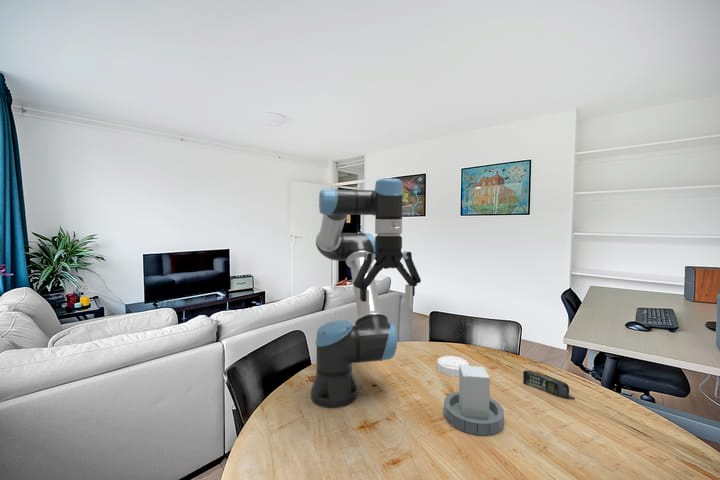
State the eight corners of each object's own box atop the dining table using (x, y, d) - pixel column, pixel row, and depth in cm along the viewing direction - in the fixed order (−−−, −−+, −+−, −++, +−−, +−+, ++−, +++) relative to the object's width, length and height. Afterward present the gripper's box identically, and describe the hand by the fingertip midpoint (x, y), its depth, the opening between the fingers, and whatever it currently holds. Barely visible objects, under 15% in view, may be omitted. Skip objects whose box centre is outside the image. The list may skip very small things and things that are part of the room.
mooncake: (434, 362, 125) (434, 354, 125) (463, 363, 125) (464, 354, 125) (440, 377, 113) (440, 367, 113) (473, 377, 113) (473, 368, 113)
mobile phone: (522, 370, 108) (572, 386, 96) (525, 368, 110) (575, 383, 98) (522, 384, 108) (572, 402, 97) (525, 382, 110) (575, 398, 99)
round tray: (433, 407, 93) (433, 397, 93) (475, 397, 99) (475, 387, 99) (470, 441, 79) (470, 429, 78) (516, 427, 84) (517, 415, 84)
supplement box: (489, 423, 85) (490, 378, 84) (461, 420, 86) (462, 375, 86) (484, 407, 92) (484, 366, 91) (458, 405, 93) (458, 364, 93)
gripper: (351, 236, 77) (351, 319, 79) (433, 234, 87) (432, 308, 88) (341, 235, 84) (342, 311, 85) (418, 234, 94) (417, 302, 95)
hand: (388, 310), depth 87 cm, fingers open, 13 cm apart
